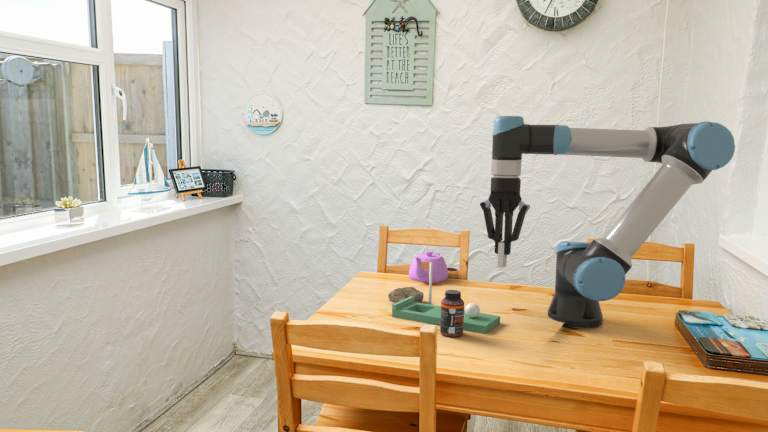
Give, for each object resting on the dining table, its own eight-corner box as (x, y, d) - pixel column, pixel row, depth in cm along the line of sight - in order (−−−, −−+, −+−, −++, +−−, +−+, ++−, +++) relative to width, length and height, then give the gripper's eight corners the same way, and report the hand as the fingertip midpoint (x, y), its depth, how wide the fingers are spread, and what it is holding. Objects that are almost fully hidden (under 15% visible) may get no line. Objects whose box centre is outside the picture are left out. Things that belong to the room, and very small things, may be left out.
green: (499, 323, 162) (500, 310, 162) (485, 333, 153) (485, 320, 153) (410, 307, 177) (410, 296, 176) (392, 316, 167) (392, 304, 167)
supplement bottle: (457, 339, 148) (458, 295, 147) (436, 335, 151) (437, 292, 150) (466, 333, 153) (468, 290, 152) (446, 329, 156) (447, 287, 155)
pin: (436, 309, 175) (437, 262, 173) (432, 312, 172) (433, 264, 171) (422, 307, 177) (423, 260, 176) (417, 309, 175) (419, 262, 173)
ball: (481, 316, 161) (482, 302, 161) (476, 320, 158) (476, 305, 157) (468, 314, 163) (468, 300, 163) (462, 318, 160) (462, 303, 159)
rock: (384, 303, 180) (384, 288, 179) (408, 297, 188) (408, 283, 187) (403, 308, 175) (403, 293, 174) (426, 302, 183) (427, 288, 182)
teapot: (398, 285, 205) (398, 254, 204) (422, 274, 223) (422, 245, 221) (433, 290, 199) (434, 258, 197) (455, 279, 216) (456, 249, 215)
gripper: (535, 177, 152) (530, 267, 155) (487, 175, 158) (483, 261, 161) (526, 178, 145) (521, 272, 148) (476, 176, 152) (473, 265, 155)
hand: (501, 266), depth 155 cm, fingers closed
